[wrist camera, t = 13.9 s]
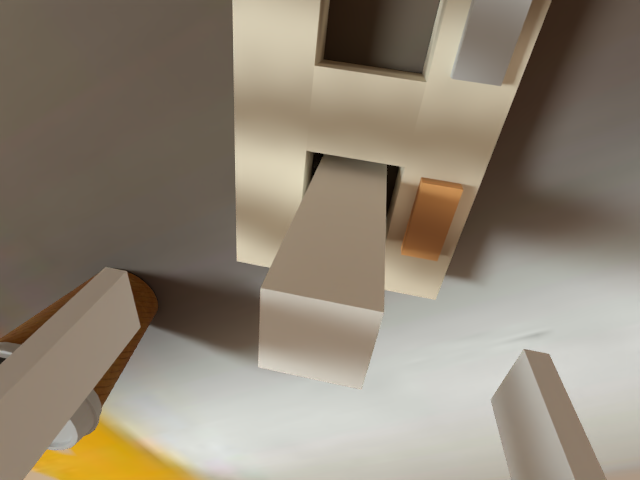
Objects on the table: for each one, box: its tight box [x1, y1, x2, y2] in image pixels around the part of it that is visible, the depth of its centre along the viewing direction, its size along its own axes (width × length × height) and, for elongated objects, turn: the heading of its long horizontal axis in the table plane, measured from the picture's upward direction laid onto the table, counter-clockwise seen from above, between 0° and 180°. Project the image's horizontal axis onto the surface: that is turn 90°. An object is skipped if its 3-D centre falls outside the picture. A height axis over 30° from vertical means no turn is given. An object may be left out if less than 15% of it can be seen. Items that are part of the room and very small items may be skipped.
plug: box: [258, 154, 387, 390], centre depth 18 cm, size 4×4×14 cm
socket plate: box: [233, 0, 552, 300], centre depth 20 cm, size 22×14×4 cm, turn 174°
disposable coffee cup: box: [0, 272, 158, 450], centre depth 29 cm, size 10×10×12 cm
